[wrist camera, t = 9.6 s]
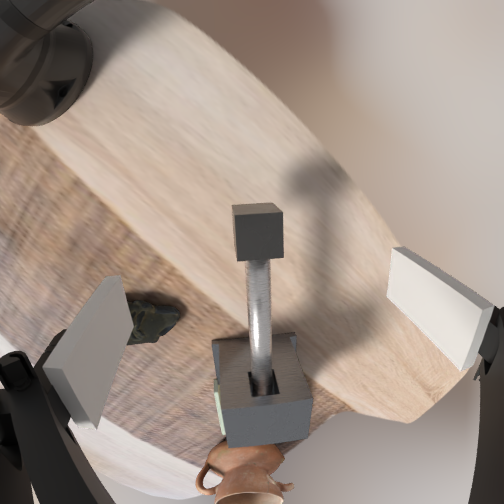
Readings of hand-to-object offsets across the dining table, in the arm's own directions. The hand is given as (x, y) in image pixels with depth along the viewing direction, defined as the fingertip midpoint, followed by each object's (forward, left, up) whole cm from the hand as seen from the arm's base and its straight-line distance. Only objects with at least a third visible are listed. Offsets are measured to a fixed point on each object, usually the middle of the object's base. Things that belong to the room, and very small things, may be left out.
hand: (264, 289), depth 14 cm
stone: (+14, -15, -24) cm, 32 cm away
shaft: (+12, +1, -17) cm, 21 cm away
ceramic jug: (+48, -3, -24) cm, 53 cm away
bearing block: (+23, +1, -23) cm, 33 cm away
